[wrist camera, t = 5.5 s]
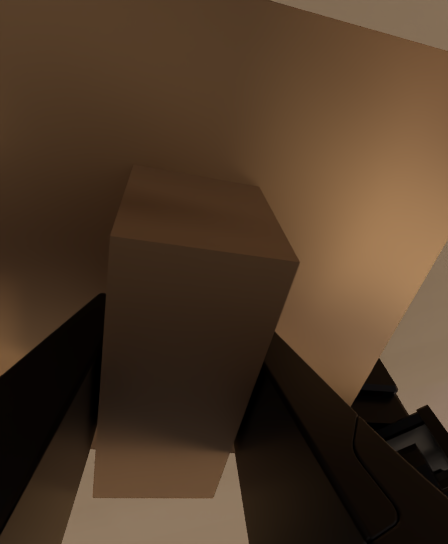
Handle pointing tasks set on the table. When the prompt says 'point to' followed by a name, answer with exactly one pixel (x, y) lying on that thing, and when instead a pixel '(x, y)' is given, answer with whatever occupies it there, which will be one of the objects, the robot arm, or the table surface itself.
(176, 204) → the lid
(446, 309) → the table surface
